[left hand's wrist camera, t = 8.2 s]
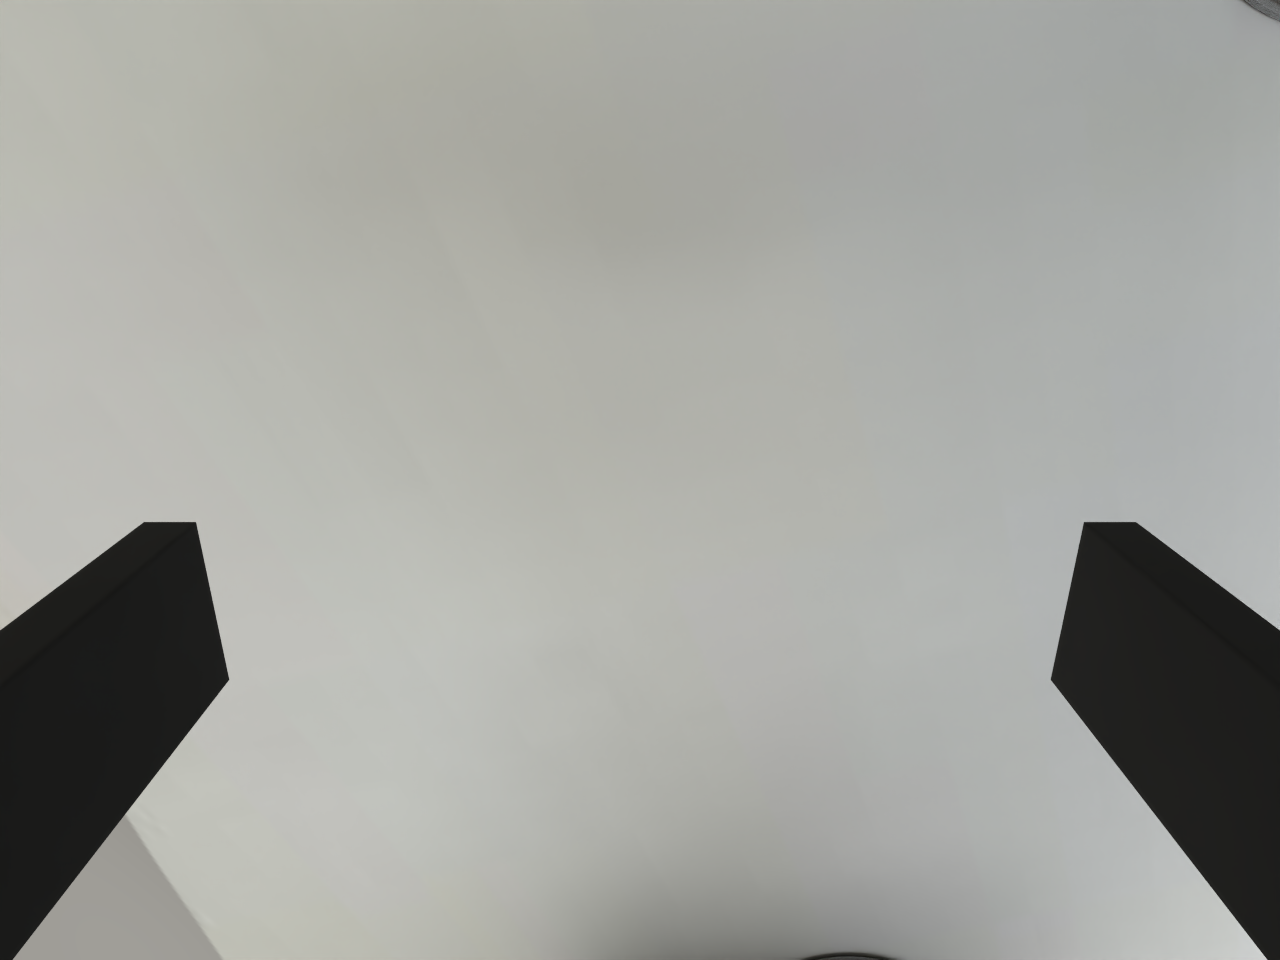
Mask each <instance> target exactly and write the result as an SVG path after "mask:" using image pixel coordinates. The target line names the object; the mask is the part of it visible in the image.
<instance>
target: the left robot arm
mask: <svg viewBox="0 0 1280 960" xmlns="http://www.w3.org/2000/svg"><path fill="white" fill-rule="evenodd" d="M228 681H229V676H228V672H227V667H226V662H225V658H224V653H223V648H222V643H221V639H220V634H219V629H218V624H217V620H216V615H215V610H214V605H213V601H212V596H211V591H210V587H209V582H208V577H207V572H206V568H205V563H204V558H203V553H202V549H201V544H200V539H199V535H198V530H197V525H196V522H144V523H142V524H141V525H140V526H138V527H137V528H136V529H134V530H133V531H132V532H130V533H129V534H128V535H126V536H125V537H124V538H122V539H121V540H120V541H118V542H117V543H116V544H114V545H113V546H112V547H110V548H109V549H108V550H107V551H105V552H104V553H103V554H101V555H100V556H99V557H97V558H96V559H95V560H93V561H92V562H91V563H89V564H88V565H87V566H85V567H84V568H83V569H81V570H80V571H79V572H77V573H76V574H75V575H73V576H72V577H71V578H69V579H68V580H67V581H65V582H64V583H63V584H61V585H60V586H59V587H57V588H56V589H55V590H53V591H52V592H51V593H49V594H48V595H47V596H45V597H44V598H43V599H41V600H40V601H39V602H37V603H36V604H35V605H33V606H32V607H31V608H29V609H28V610H27V611H26V612H24V613H23V614H22V615H20V616H19V617H18V618H16V619H15V620H14V621H12V622H11V623H10V624H8V625H7V626H6V627H4V628H3V629H2V630H0V960H13V958H14V957H15V956H16V954H17V953H18V952H19V951H20V949H21V948H22V947H23V945H24V944H25V943H26V942H27V940H28V939H29V938H30V936H31V935H32V934H33V932H34V931H35V930H36V929H37V927H38V926H39V925H40V924H41V922H42V921H43V920H44V918H45V917H46V916H47V914H48V913H49V912H50V911H51V909H52V908H53V907H54V905H55V904H56V903H57V902H58V900H59V899H60V898H61V896H62V895H63V894H64V892H65V891H66V890H67V889H68V887H69V886H70V885H71V883H72V882H73V881H74V880H75V878H76V877H77V876H78V874H79V873H80V872H81V870H82V869H83V868H84V867H85V865H86V864H87V863H88V861H89V860H90V859H91V858H92V856H93V855H94V854H95V852H96V851H97V850H98V848H99V847H100V846H101V845H102V843H103V842H104V841H105V840H106V838H107V837H108V836H109V834H110V833H111V832H112V830H113V829H114V828H115V827H116V825H117V824H118V823H119V821H120V820H121V819H122V818H123V816H124V815H125V814H126V812H127V811H128V810H129V808H130V807H131V806H132V805H133V803H134V802H135V801H136V799H137V798H138V797H139V796H140V794H141V793H142V792H143V790H144V789H145V788H146V787H147V785H148V784H149V783H150V781H151V780H152V779H153V777H154V776H155V775H156V774H157V772H158V771H159V770H160V768H161V767H162V766H163V765H164V763H165V762H166V761H167V759H168V758H169V757H170V756H171V754H172V753H173V752H174V750H175V749H176V748H177V746H178V745H179V744H180V743H181V741H182V740H183V739H184V737H185V736H186V735H187V734H188V732H189V731H190V730H191V728H192V727H193V726H194V724H195V723H196V722H197V721H198V719H199V718H200V717H201V715H202V714H203V713H204V712H205V710H206V709H207V708H208V706H209V705H210V704H211V703H212V701H213V700H214V699H215V697H216V696H217V695H218V693H219V692H220V691H221V690H222V688H223V687H224V686H225V684H226V683H227V682H228ZM1051 681H1052V682H1053V683H1054V684H1055V686H1056V687H1057V688H1058V690H1059V691H1060V692H1061V693H1062V695H1063V696H1064V697H1065V699H1066V700H1067V701H1068V703H1069V704H1070V705H1071V706H1072V708H1073V709H1074V710H1075V712H1076V713H1077V714H1078V715H1079V717H1080V718H1081V719H1082V721H1083V722H1084V723H1085V724H1086V726H1087V727H1088V728H1089V730H1090V731H1091V732H1092V734H1093V735H1094V736H1095V737H1096V739H1097V740H1098V741H1099V743H1100V744H1101V745H1102V746H1103V748H1104V749H1105V750H1106V752H1107V753H1108V754H1109V756H1110V757H1111V758H1112V759H1113V761H1114V762H1115V763H1116V765H1117V766H1118V767H1119V768H1120V770H1121V771H1122V772H1123V774H1124V775H1125V776H1126V777H1127V779H1128V780H1129V781H1130V783H1131V784H1132V785H1133V787H1134V788H1135V789H1136V790H1137V792H1138V793H1139V794H1140V796H1141V797H1142V798H1143V799H1144V801H1145V802H1146V803H1147V805H1148V806H1149V807H1150V808H1151V810H1152V811H1153V812H1154V814H1155V815H1156V816H1157V818H1158V819H1159V820H1160V821H1161V823H1162V824H1163V825H1164V827H1165V828H1166V829H1167V830H1168V832H1169V833H1170V834H1171V836H1172V837H1173V838H1174V840H1175V841H1176V842H1177V843H1178V845H1179V846H1180V847H1181V849H1182V850H1183V851H1184V852H1185V854H1186V855H1187V856H1188V858H1189V859H1190V860H1191V861H1192V863H1193V864H1194V865H1195V867H1196V868H1197V869H1198V871H1199V872H1200V873H1201V874H1202V876H1203V877H1204V878H1205V880H1206V881H1207V882H1208V883H1209V885H1210V886H1211V887H1212V889H1213V890H1214V891H1215V892H1216V894H1217V895H1218V896H1219V898H1220V899H1221V900H1222V902H1223V903H1224V904H1225V905H1226V907H1227V908H1228V909H1229V911H1230V912H1231V913H1232V914H1233V916H1234V917H1235V918H1236V920H1237V921H1238V922H1239V924H1240V925H1241V926H1242V927H1243V929H1244V930H1245V931H1246V933H1247V934H1248V935H1249V936H1250V938H1251V939H1252V940H1253V942H1254V943H1255V944H1256V945H1257V947H1258V948H1259V949H1260V951H1261V952H1262V953H1263V955H1264V956H1265V957H1266V958H1267V960H1280V630H1278V629H1277V628H1276V627H1274V626H1273V625H1272V624H1270V623H1269V622H1268V621H1266V620H1265V619H1264V618H1262V617H1261V616H1260V615H1258V614H1257V613H1256V612H1254V611H1253V610H1252V609H1251V608H1249V607H1248V606H1247V605H1245V604H1244V603H1243V602H1241V601H1240V600H1239V599H1237V598H1236V597H1235V596H1233V595H1232V594H1231V593H1229V592H1228V591H1227V590H1225V589H1224V588H1223V587H1221V586H1220V585H1219V584H1217V583H1216V582H1215V581H1213V580H1212V579H1211V578H1209V577H1208V576H1207V575H1205V574H1204V573H1203V572H1201V571H1200V570H1199V569H1197V568H1196V567H1195V566H1193V565H1192V564H1191V563H1189V562H1188V561H1187V560H1185V559H1184V558H1183V557H1181V556H1180V555H1179V554H1177V553H1176V552H1175V551H1173V550H1172V549H1171V548H1170V547H1168V546H1167V545H1166V544H1164V543H1163V542H1162V541H1160V540H1159V539H1158V538H1156V537H1155V536H1154V535H1152V534H1151V533H1150V532H1148V531H1147V530H1146V529H1144V528H1143V527H1142V526H1140V525H1139V524H1138V523H1136V522H1084V525H1083V530H1082V535H1081V539H1080V544H1079V549H1078V553H1077V558H1076V563H1075V568H1074V572H1073V577H1072V582H1071V587H1070V591H1069V596H1068V601H1067V605H1066V610H1065V615H1064V620H1063V624H1062V629H1061V634H1060V639H1059V643H1058V648H1057V653H1056V658H1055V662H1054V667H1053V672H1052V676H1051ZM817 960H880V959H875V958H868V957H855V956H843V957H830V958H822V959H817Z"/></svg>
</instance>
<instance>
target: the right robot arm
mask: <svg viewBox="0 0 1280 960" xmlns="http://www.w3.org/2000/svg"><path fill="white" fill-rule="evenodd" d="M1245 1H1246V2H1247V3H1249V4H1250V5H1251V6H1252V7H1254V8H1256V9H1257V10H1259V11H1261V12H1262V13H1264V14H1266V15H1267V16H1270V17H1272V18H1274V19H1277V20H1279V21H1280V0H1245Z"/></svg>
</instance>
